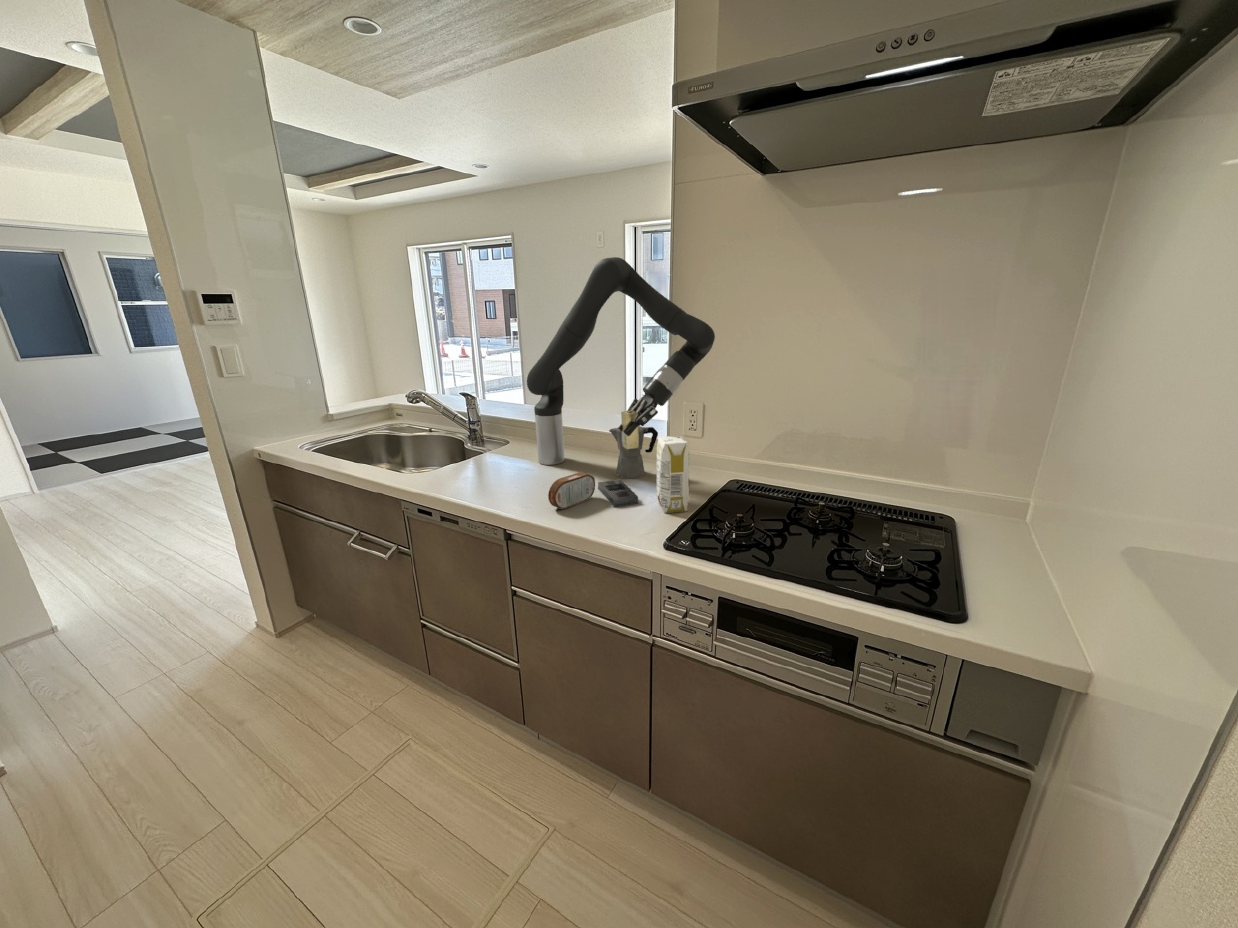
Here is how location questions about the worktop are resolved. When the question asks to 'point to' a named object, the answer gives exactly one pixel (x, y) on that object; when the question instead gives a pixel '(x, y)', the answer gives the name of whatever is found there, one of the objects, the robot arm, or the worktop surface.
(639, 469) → the coffeepot
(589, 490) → the tin
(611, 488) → the grey base with slots
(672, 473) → the juice carton
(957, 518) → the worktop surface
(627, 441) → the wooden post with button
